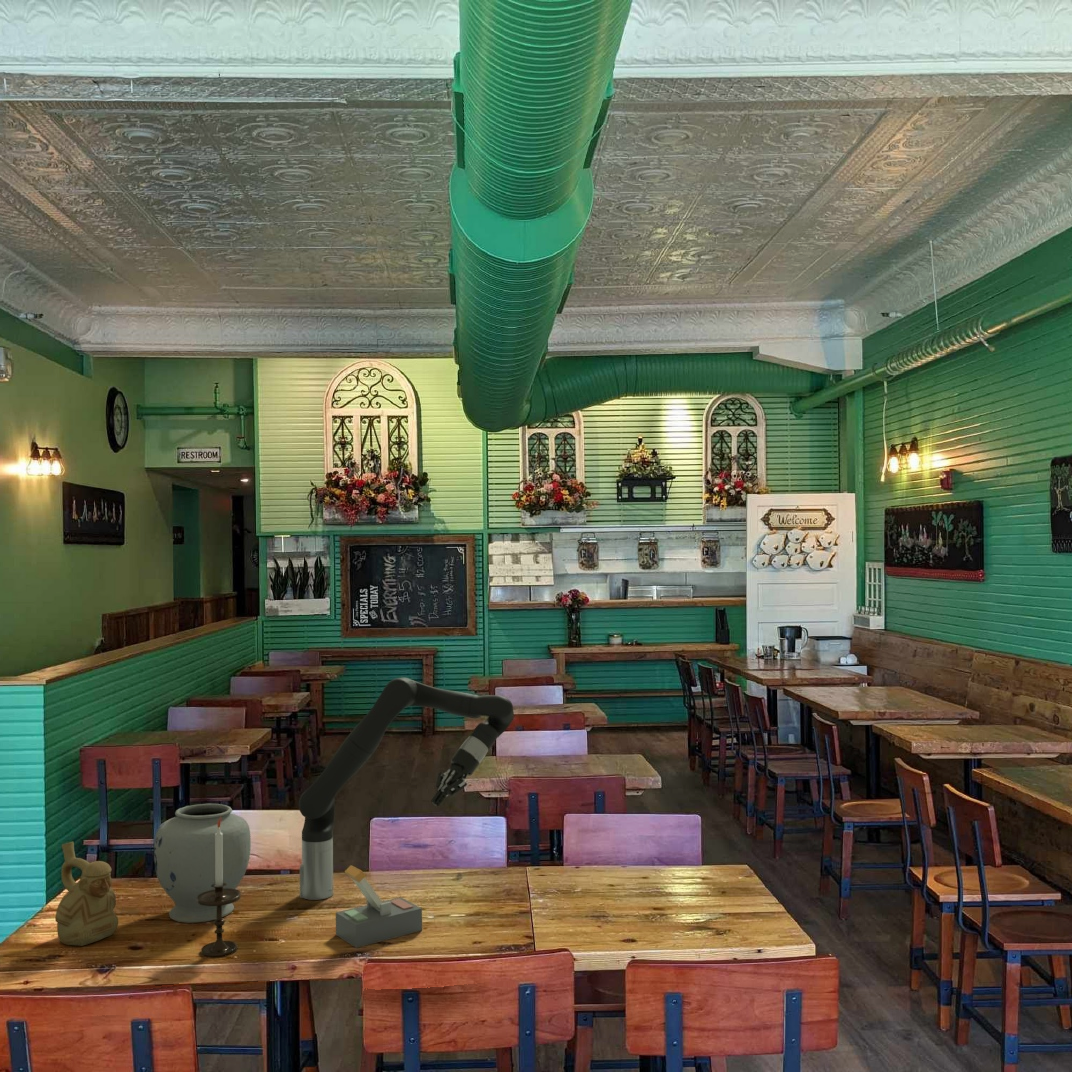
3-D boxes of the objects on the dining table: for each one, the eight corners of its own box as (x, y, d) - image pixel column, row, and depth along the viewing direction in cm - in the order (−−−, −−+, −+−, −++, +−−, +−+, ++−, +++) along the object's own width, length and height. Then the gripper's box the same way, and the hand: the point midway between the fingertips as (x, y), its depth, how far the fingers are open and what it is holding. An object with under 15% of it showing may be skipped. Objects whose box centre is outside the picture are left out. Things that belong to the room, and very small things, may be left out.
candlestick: (248, 949, 262) (248, 815, 263) (210, 962, 254) (210, 823, 255) (227, 939, 269) (226, 808, 270) (189, 951, 261) (189, 816, 262)
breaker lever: (382, 914, 270) (355, 877, 266) (371, 908, 275) (344, 871, 271) (388, 908, 272) (361, 870, 267) (377, 901, 277) (351, 865, 272)
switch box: (355, 947, 262) (355, 913, 263) (335, 934, 272) (335, 901, 272) (422, 930, 274) (421, 897, 275) (400, 918, 284) (400, 886, 284)
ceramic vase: (234, 891, 310) (233, 794, 310) (264, 915, 288) (263, 810, 289) (143, 909, 294) (143, 807, 295) (168, 936, 272) (168, 825, 273)
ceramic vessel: (78, 955, 260) (78, 858, 261) (35, 941, 270) (35, 847, 271) (135, 934, 274) (135, 842, 275) (91, 921, 285) (91, 833, 286)
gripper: (450, 744, 297) (414, 792, 289) (474, 750, 286) (438, 800, 279) (465, 760, 300) (430, 807, 292) (490, 766, 289) (454, 816, 282)
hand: (434, 804), depth 286 cm, fingers closed
